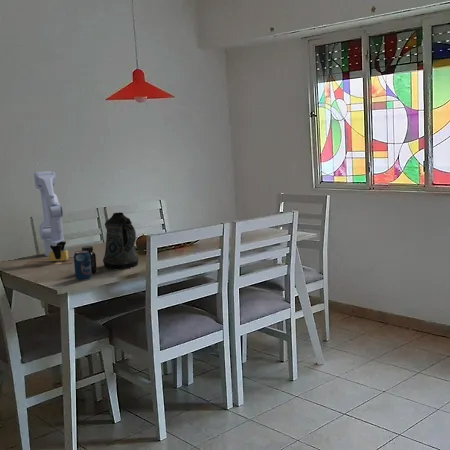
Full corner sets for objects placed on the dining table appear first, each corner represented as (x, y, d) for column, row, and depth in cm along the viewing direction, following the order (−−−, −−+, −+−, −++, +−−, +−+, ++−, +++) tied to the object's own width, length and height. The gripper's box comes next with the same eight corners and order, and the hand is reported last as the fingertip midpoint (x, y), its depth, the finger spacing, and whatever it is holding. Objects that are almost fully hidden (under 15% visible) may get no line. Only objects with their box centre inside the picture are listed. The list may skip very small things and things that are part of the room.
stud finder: (52, 258, 300) (51, 250, 299) (68, 258, 300) (67, 249, 299) (49, 260, 296) (49, 252, 295) (66, 259, 296) (65, 251, 295)
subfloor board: (31, 261, 307) (31, 259, 306) (79, 258, 307) (78, 256, 306) (21, 268, 291) (21, 266, 291) (71, 265, 291) (71, 263, 291)
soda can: (85, 281, 259) (83, 253, 257) (72, 280, 262) (69, 253, 260) (95, 277, 265) (93, 250, 263) (82, 276, 268) (79, 249, 266)
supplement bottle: (78, 274, 273) (76, 248, 271) (87, 270, 279) (84, 245, 277) (91, 275, 270) (89, 248, 268) (100, 271, 276) (97, 245, 274)
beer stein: (114, 261, 296) (110, 210, 292) (150, 262, 290) (147, 210, 286) (96, 269, 281) (92, 215, 277) (134, 270, 274) (129, 215, 270)
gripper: (52, 228, 303) (55, 255, 305) (44, 233, 288) (47, 261, 291) (66, 227, 303) (69, 254, 305) (59, 232, 288) (61, 260, 291)
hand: (59, 257), depth 298 cm, fingers closed on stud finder, 4 cm apart
